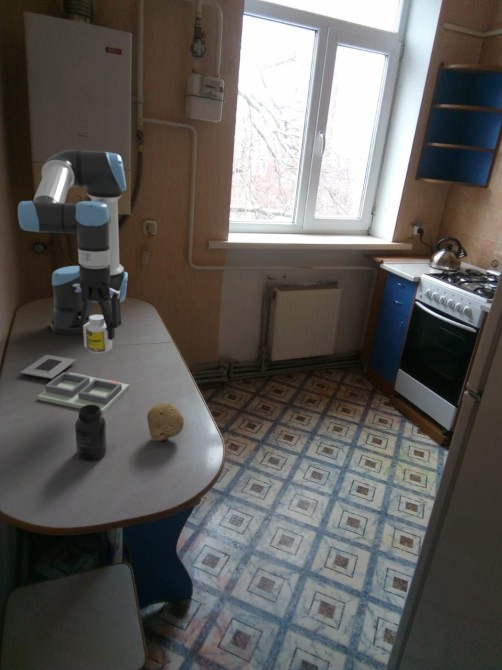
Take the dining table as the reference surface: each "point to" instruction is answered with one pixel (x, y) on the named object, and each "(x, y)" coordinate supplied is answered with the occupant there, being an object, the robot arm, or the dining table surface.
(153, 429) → the natural sponge
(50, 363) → the electrical outlet
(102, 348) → the supplement bottle
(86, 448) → the supplement bottle
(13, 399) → the dining table surface
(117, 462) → the dining table surface
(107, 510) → the dining table surface
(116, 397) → the tag board
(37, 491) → the dining table surface
